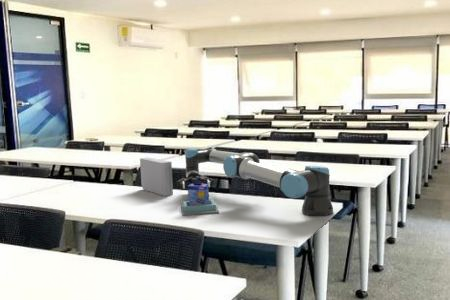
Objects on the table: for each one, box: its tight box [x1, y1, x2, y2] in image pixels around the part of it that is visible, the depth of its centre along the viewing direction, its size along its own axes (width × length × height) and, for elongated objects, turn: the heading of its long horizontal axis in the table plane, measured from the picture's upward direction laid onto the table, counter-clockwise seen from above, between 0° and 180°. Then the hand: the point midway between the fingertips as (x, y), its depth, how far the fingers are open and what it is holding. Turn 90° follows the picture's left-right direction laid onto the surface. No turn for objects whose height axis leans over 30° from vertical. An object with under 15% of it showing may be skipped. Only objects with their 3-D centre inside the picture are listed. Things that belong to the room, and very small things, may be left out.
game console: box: [139, 156, 174, 197], centre depth 301 cm, size 6×27×20 cm, turn 39°
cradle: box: [180, 199, 220, 217], centre depth 257 cm, size 20×18×4 cm
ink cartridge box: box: [187, 181, 210, 206], centre depth 256 cm, size 10×6×14 cm, turn 76°
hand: (196, 185), depth 264 cm, fingers open, 13 cm apart
